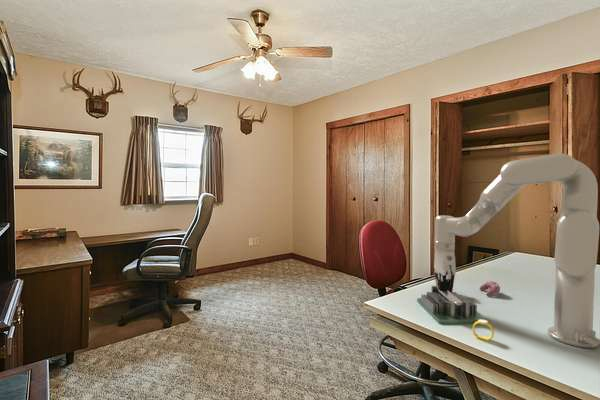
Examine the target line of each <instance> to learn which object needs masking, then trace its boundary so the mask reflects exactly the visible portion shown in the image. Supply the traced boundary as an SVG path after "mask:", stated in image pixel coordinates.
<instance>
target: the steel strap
mask: <svg viewBox="0 0 600 400" xmlns="http://www.w3.org/2000/svg"><path fill="white" fill-rule="evenodd" d="M435 286H436V285H435ZM436 289H437V290H438V291H439V292H440V293H441V294H442V295H444V296H445V297H446V298H447V299H448V300H449V301H453V302H454V303H455V306H464V303H463V302H461V301H460V300H459V299H458V298H457V297H455V296H454V295H453V294H452V293H450V292H449V291H440V290H439V289H438V286H436Z"/></svg>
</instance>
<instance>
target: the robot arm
mask: <svg viewBox="0 0 600 400" xmlns="http://www.w3.org/2000/svg"><path fill="white" fill-rule="evenodd" d="M499 172H500V174H498V176H497V177H496V178H494V180H492V181H491V183H490V184H488V186H487V187H486V188H485V189H483V191H482V192H481V194H480V196H479V200H478V201H477V203H475V205H474V206H473V207H472V208H471V210H469V211H468V212H467V214H465V215H464V216H460V217H454V216H452V215H437V216H436V217H434V218H435V219H434V220H435V221H434V246H433V247H434V248H433V249H434V250H435V251H434V259H433V268H434V271H437V273H438V279H439V282H438V289H439V290H440V291H448V281H449V279H451V275H453V276H454V275H455V276H456V274H457V273H456V269H457V268H456V256H455V255H456V254H455V247H456V245H455V244H456V240H455V239H456V236H459V237H465V238H467V237H470V236H471V235H474V234H476V233H477V232H479V231H480V230H481V229H482V228H483V227H484V226H485V225H486V224H487V223H488V222H489V221H490V220H491V219H492V218H493V217H494V216H495V215H496V214H497V213H499V211H501V210H502V209H503V207H505V205H506V204H508V203H509V202H510V200H512V198H514V197H515V196H516V195H517V194H518V193H519V192H520V191H521V190H522V189H523V188H524V187H525V186H526V185H534V184H542V183H551V182H559V183H560V185H561V188H562V189H561V190H562V191H561V193H562V194H561V210H560V215H559V218H558V220H557V222H556V232H555V233H556V234H555V251H554V258H553V259H554V264H555V280H554V281H555V282H554V283H555V285H554V309H553V311H554V313H553V326H551V327H549V328H548V329H547V334H548V335H549V336H550V337H551V338H553V339H555V340H556V341H559V342H561V343H563V344H567V345H570V346H575V347H580V348H586V349H588V348H589V349H591V348H597V347H599V346H600V338H598V337H596V331H595V330H594V310H595V309H594V304H595V281H596V280H595V279H596V278H595V277H596V276H595V274H596V273H595V272H596V271H595V270H596V267H597V264H598V263H597V262H598V261H597V260H598V250H599V240H600V239H599V238H600V223H599V221H598V214H597V213H598V196H599V195H598V193H599V192H598V191H599V189H598V188H599V186H598V181H597V177H596V175H595V174H594V172H593V171H592V169H590V168H589V167H588V166H587V165H586V164H585V163H583V162H581V161H579V160H577V159H575V158H574V157H573V156H571V155H569V154H566V153H552V154H547V155H539V156H535V157H528V158H522V159H516V160H511V161H507V162H506V163H505V164H503V166H502V167H501V169H500V171H499Z"/></svg>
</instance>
